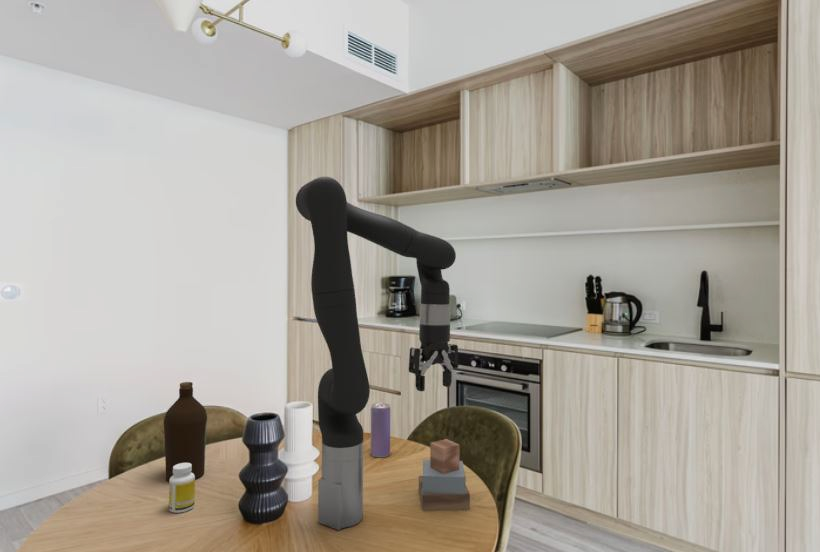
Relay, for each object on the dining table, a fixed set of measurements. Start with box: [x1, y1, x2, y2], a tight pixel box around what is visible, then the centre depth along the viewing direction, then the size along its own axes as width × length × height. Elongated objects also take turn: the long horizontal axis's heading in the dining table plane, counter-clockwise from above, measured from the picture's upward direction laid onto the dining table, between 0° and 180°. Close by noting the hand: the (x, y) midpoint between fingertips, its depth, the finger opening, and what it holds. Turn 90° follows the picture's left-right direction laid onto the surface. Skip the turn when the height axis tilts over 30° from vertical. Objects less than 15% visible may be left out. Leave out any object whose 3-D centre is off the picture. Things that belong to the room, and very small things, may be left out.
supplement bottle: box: [168, 463, 196, 514], centre depth 112 cm, size 5×5×10 cm
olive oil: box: [163, 381, 208, 482], centre depth 130 cm, size 11×11×25 cm
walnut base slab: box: [418, 475, 471, 512], centre depth 117 cm, size 11×11×4 cm
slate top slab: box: [422, 459, 467, 494], centre depth 117 cm, size 10×10×4 cm
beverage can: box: [370, 402, 391, 459], centre depth 147 cm, size 6×6×15 cm
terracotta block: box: [429, 438, 460, 474], centre depth 117 cm, size 5×5×6 cm
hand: (433, 388), depth 118 cm, fingers open, 8 cm apart
